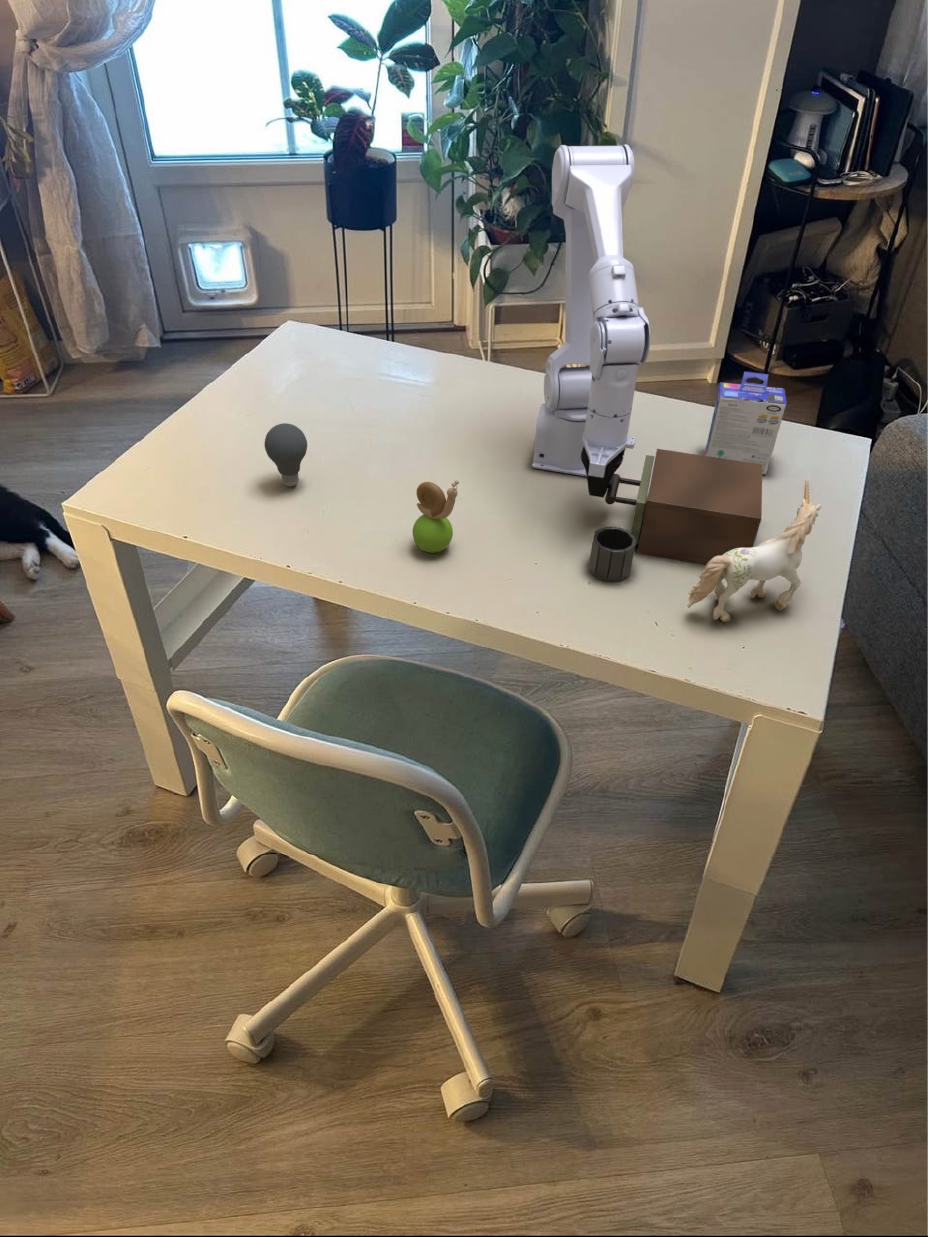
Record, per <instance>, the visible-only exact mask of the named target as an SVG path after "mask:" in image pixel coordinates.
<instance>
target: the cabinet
mask: <svg viewBox="0 0 928 1237" xmlns="http://www.w3.org/2000/svg"><path fill="white" fill-rule="evenodd" d="M762 505H763V474H762V464H755V463H749V462H742V461H736V460H729V459H722V458H716V457H709V456H704V455H703V454H702V455H701V454H695V453H690V452H682V451H675V450H668V449H662V448H656V452H655V456H654V462H653V467H652V472H651V477H650V483H649V488H648V493H647V498H646V504H645V509H644V514H643V519H642V524H641V529H640V535H639V540H638V544H637V545H638V546H637V551H636V552H637V553H638V554H644V555H650V556H654V557H655V556H656V557H662V558H666V559H673V560H678V561H684V562H690V563H696V564H700V565H707V563H708V562H709V561H710V560H711V559H712V558H714V557H715V556H722V555H723V554H724V553H726V552H728V551H730V550H733V549H736V548H751V547H754V545H755V542H756V538H757V536H758V531H759V529H760V525H761V522H762V512H763V510H762V509H763V508H762V507H763V506H762Z"/></svg>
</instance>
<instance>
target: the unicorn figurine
mask: <svg viewBox="0 0 928 1237" xmlns="http://www.w3.org/2000/svg"><path fill="white" fill-rule="evenodd" d="M809 488H810V484H809V480H808V479H805V482H804V492H803V493H804V494H803V498H802V499H801V504H800V505H799V506H798V507H797V510H796V516H795V517H794V519H793V521H791V523H790V525H787V526H786V528H785V529H784V530H783V531H782V532H780V533H779V534H777V535H776V536H775V535H774V536H773V537H772V538H768V539H765V541H762V542H761V543H759V544H758V545H757V546H753V547H751V548H736V549H733V550H730V551H728V552H726V553H724V554H723V555H722V556H715V557H714V558H712V559H711V560H710V561H709V562H708V563H707V564H705V567H704V570H703V571H702V573H701V574H700V575H699V579H700V580H699V581H698V582H696V583H694V584H692V589H690V591H689V592H688V595H689V597H688V603H687V606H686V607H687V608H688V609H689V608H691V607H692V606H693V605H694V604H697V603H699V602H701V601H703V600H704V599H705V598H707V597H708V595H710V594H711V593H712V592H713V591H714V597H715V598H716V599H717V601H718V604H717V605H716V606H715V607H714V608H713V614H712V618H713V620H714V621H716V620H718V619H719V620H720V621H721V622H722V623H729V622H730V621H731V616H730V614H729V613H728V612H727V611H725V604H726V602H727V601H729V598H730V597H731V596H733V595H734V594H736V593H737V592H738V591H739V590H740V589H741V588H743V587H744V586H745V585H746V584H747V583H748V582H749V581H750V580H754V581H758V582H757V584H755V585H754V586H753V587H752V590H751V592H750V597H751V598H754V597H755V596H757V597H758V598H759V599H764V597H766V596H767V592H766V589H765V588H764V587H765V586H764V585H765V583H766V581H770V580H772V579H776V578H777V577H782V578H785V579H786V580H787V581H788V582H790V587H789V589H787V590H785V591H783V592H782V593H780V594H779V595H778V598H777V599H776V600H775V602H774V606H775V608H776V609H777V610H778V611H781V612H782V611H783V610H784V609H785V608H786V606H787V605H788V603H789V602H791V601H792V599H793V597H794V594H795V592H796V591H797V590H798V589H799V588H800V586H801V584H802V583H801V579H800V577H799V575H798V573H797V569H798V568H800V566H801V563H802V558H803V552H802V547H803V545H804V543H805V540H806V538H807V537H806V536H808V535H810V534H811V532H812V529H813V525H815V523H816V519H817V517H819V512H818V511H820V510H821V507H822V504H821V503H817V504H816V505H815V504H813V503H812V502H810V489H809ZM724 579H725V581H726V584H724V583H723V580H724Z"/></svg>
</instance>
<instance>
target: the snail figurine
mask: <svg viewBox="0 0 928 1237" xmlns="http://www.w3.org/2000/svg"><path fill="white" fill-rule="evenodd" d="M458 485H459V479H458V480H457V479H456V480H454V482H452V483H451V487H448V488H447V490H446V494H445V492H444V490H443V489H442V488H441V487H440V486H439V485H437V484H436V483H434V482H432V481H424V482H421V483H420V484H418V486H417V488H416V498H417V500H418V502H417V503H416V507H417V509H418V510H419V511H420V513H422V515H420V516H419V517H418V518H417V519H416V520H415V521H414V524H413V525H412V539H413V541H414V543H415V545H416V547H418V548H419V549H420V550H422V551H424V552H425V553H433V554H434V553H439V552H442V551H443V550H445V549H447V548H448V546H449V545H450V544H451V542H452V539H453V535H454V530H453V525H452V523H451V522H450V520H449V519H448V517H449V516H450V515H451V513H452V512H453V510H454V506H455V504H456V498H457V497H458ZM455 487H456V488H455ZM446 495H447V497H446Z"/></svg>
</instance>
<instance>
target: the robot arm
mask: <svg viewBox="0 0 928 1237" xmlns="http://www.w3.org/2000/svg"><path fill="white" fill-rule="evenodd" d="M634 177H635V157H634V152H633V150H632V149H631V147H630V146H629V145H628V144H621V145H569V146H568V145H566V144H561V145H559V146H558V148H557V149H556V151H555V153H554V156H553V162H552V168H551V207H552V213H553V215H555V216H556V217H558V218H559V219H561V220H563V224H564V231H565V299H564V300H565V301H564V302H565V306H564V308H565V311H564V313H565V314H564V316H565V317H564V318H565V319H564V324H565V325H564V329H565V330H564V343H563V344H562V345H560V347H558V348H557V349H556V350H555V351H553V352H552V353H551V354H550V355H549V356H548V358H547V360H546V362H545V374H544V379H543V397H544V403H542V404H540V407H539V410H538V414H537V415H538V416H537V419H536V427H535V436H534V446H533V448H534V450H533V459H532V465H531V467H532V468H533V469H537V470H545V471H551V472H556V473H563V474H568V475H576V476H582V477H586V480H587V490H588V495H589V496H591V497H594V498H595V497H597V498H604V497H606V493H607V489H608V486H609V483H610V480H611V478H612V476H613V474H616V471H617V470H618V469H619V468H620V467H621V465H622V463H623V461H624V456H625V453H626V452H625V451H626V449H634V448H635V445H636V439H637V438H635V436H629V435H628V434H629V428H630V421H631V416H632V410H633V403H634V398H635V392H636V386H637V380H638V373H639V367H640V363H641V364H644V363H645V362H646V361H647V359H648V357H649V353H650V348H651V326H650V321H649V318H648V316H647V315H646V313H645V310H644V308H643V306H641V307H640V305H639V298H638V290H637V289H638V288H637V282H636V276H635V275H636V274H635V267H634V265H633V263H631V261H630V260H628V259H626V258H624V239H623V237H624V236H623V213H622V212H623V211H622V209H623V208H622V207H623V206H624V205H626V202H627V200H628V196H629V193H630V191H631V189H632V187H633V183H634ZM586 364H587V365H588V364H589V366H569V365H586ZM567 366H569V367H567Z"/></svg>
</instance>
